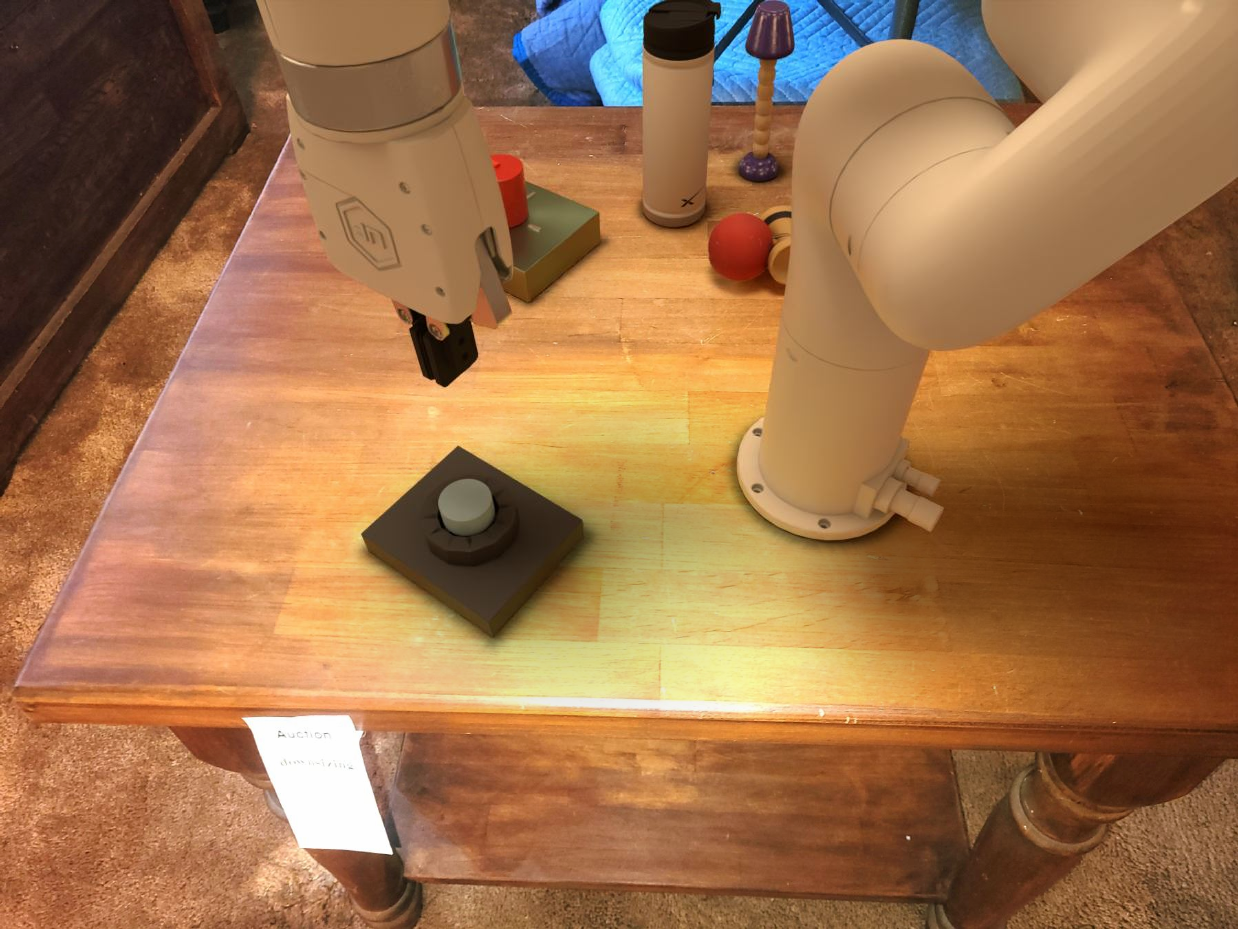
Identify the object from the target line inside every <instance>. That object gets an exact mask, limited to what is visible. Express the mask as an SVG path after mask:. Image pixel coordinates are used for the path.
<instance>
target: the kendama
mask: <svg viewBox="0 0 1238 929" xmlns="http://www.w3.org/2000/svg"><path fill="white" fill-rule="evenodd" d="M791 225H792V205H785V204H782V205H776V206H772V207H770V208H769V209H767V210H766V211H764V212H763V213H762V214H761V215H760V216H759V217H758V216H756V215H754V214H751V213H747V212H738V213H732V214H730V215H727V216H726V217H724V218H722V219H721V220H720V221H719V222H718V223H716V224H715V226H714V227H713V228H712V231H711V232H710V236H709V238H708V242H707V243H708V245H707V252H708V261H709V264H710V265H711V267H712V269H713V270H714V271H715V272H717V273H718V274H719V275H720V276H721V277H723V278H724V279H726V280H730V281H733V282H745V281H750V280H752V279H755V278H758V276H760V275H761V274H762V273H764V272H766V271H768V272H769V273H770V276H771V277H772V278H773V280H774V281H776V282H777V283H778V284H780V285H784V286H786V281H787V274H788V267H789V258H790V246H791Z"/></svg>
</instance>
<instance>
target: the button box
mask: <svg viewBox="0 0 1238 929" xmlns="http://www.w3.org/2000/svg"><path fill="white" fill-rule="evenodd" d="M462 479H474V480H478V481H480V482H482V483H484V484H485V485H486V486H487V487H488V488H489V489H490V491H491V495H492V499H493V504H494V508H495V516H494V519H493V521H492V523H491V524H490V526H489V527H488V528H487V529H485V530H484V531H482V532H480V533H478V534H475V535H471V536H460V535H456V534H454V533H452V532H450V531H449V530H448V529H447V528H446V527H445V525H444V523H443V519H442V516H441V513H440V509H439V505H438V501H439V497H440V495H441V493H442V491H443V490H444V489H445V488H446V487H447V486H448V485H450V484H451V483H453V482H455V481H458V480H462ZM360 536H361V537H362V540H363V542H364V544H365V547H366V549H367V552H369V553H370V554H372V555H374V556H375V557H376V558H377V559H379V560H381V561H382V563H383V562H384V563H385V564H386V565H388V566H389V567H390V568H392V569H394V570H395V571H396V572H398V573H399V574H401V576H403V577H405V578H406V579H408V580H409V581H410V582H412V583H413V584H415V586H418V587H419V588H421V589H422V590H423V591H425V592H426V593H427V594H429V595H431V596H432V597H433V598H435V599H436V600H438V601H439V602H441V603H442V604H443V605H445V606H446V607H448V608H449V609H451V610H452V611H453V612H455V613H456V614H458V615H459V616H461V617H462V618H464V619H465V620H467V621H468V622H469V623H471V624H472V625H473V626H475V627H476V628H478V629H479V630H481V631H483V632H484V633H485V634H487V635H488V636H489V637H491V638H492V639H493V638H495V636H496V635H497V634H498V633H499V632H500V631H501V630H502V629H503V627H504V626H505V625H506V624H507V623H508V622H509V621H510V620H511V619H512V618H513V616H514V615H515V614H517V612H518V611H519V610H520V609H521V608H522V607H523V605H524V604H525V603H526V602H528V600H529V599H530V598H531V597H532V596H533V595H534V593H535V592H536V591H537V590H538V589H539V588H540V587H541V586H542V585H543V584H544V582H545V581H546V580H547V579H548V578H549V577H550V576H551V575H552V574H553V572H554V571H555V570H556V569H557V568H558V567H559V566H560V565H561V564H562V563H563V561H564V560H565V559H567V557H568V556H569V555H570V554H571V553H572V552H573V550H575V548H576V547H577V546H579V544H580V543H581V542H582V540H583V539H584V538H585V528H584V520H583V519H582V518H580V517H578V516H577V515H576V514H574V513H572V512H570V511H569V510H567V509H565V508H564V507H562V506H560V505H559V504H557V503H555V502H554V501H552V500H550V499H548V498H547V497H545V496H544V495H542V494H540V493H539V492H537V491H535V490H533V489H532V488H530V487H529V486H527V485H525V484H524V483H522V482H521V481H518V480H517V479H515V478H513V477H512V476H510V475H509V474H507V473H505V472H503V471H501V470H500V469H498V468H497V467H495V466H493V465H492V464H490V463H488V462H487V461H485V460H483V458H480V457H478V456H476V455H475V454H474V453H471V452H470V451H468V450H466V449H465V448H463V447H462V446H460V445H457V446H456V447H455V448H453V449H452V450H451V451H450V452H449V453H448V454H447V455H446V456H444V458H442V459H441V460H440V461H439V462H438V463H437V464H436V465H435V466H433V467H432V469H430V470H429V471H428V472H427V473H426V474H425V475H424V476H423V477H422V478H420V479H419V480H418V481H417V482H416V483H415V484H414V485H413V486H411V488H409V489H408V490H407V491H406V492H405V493H404V494H403V495H402V496H400V497H399V499H397V500H396V501H395V502H394V503H393V504H392V505H391V506H389V507H388V509H386V510H385V511H384V512H383V513H382V514H381V515H380V516H379V517H377V518H376V519H375V520H374V521H373V522H372V523H371V524H370V525H369V526H368V527H366V528H365V529H364V530H363V531H361V533H360Z"/></svg>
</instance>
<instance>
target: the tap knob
mask: <svg viewBox="0 0 1238 929" xmlns="http://www.w3.org/2000/svg"><path fill="white" fill-rule="evenodd" d="M490 156H491V160H492V163H493V166H494V170H495V173H496V177H497V180H498V184H499V188H500V192H501V196H502V200H503V204H504V209H505V213H506V218H507V223H508V228H511V227H515V226H517V225H519V224H521V223H523V222H524V221H525V220H526V219H527V217H528V214H529V211H528V202H527V194H526V185H525V181H526V177H525V169H524V163H523V162H522V160H521V159H520V158H518V157H516V156H514V155H512V154H505V153H500V154H492V155H491V154H490Z"/></svg>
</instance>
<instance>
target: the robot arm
mask: <svg viewBox="0 0 1238 929" xmlns="http://www.w3.org/2000/svg"><path fill="white" fill-rule="evenodd" d="M255 1H256V2H255V3H256V4H257V7H258V10H259V13H260V15H261V16H260V17H261V18H262V22H263V24H264V27H265V30H266V33H267V36H268V38H269V41H270V45H271V48H272V51H273V54H274V56H275V60H276V62H277V66H278V68H279V70H280V74H281V77H282V80H283V83H284V86H285V88H286V91H287V93H286V96H285V102H286V111H287V112H286V113H287V120H288V125H289V133H290V138H291V143H292V148H293V152H294V156H295V161H296V164H297V169H298V173H299V176H300V181H301V184H302V188H303V191H304V195H305V197H306V200H307V204H308V207H309V210H310V214H311V217H312V220H313V223H314V226H315V229H316V232H317V235H318V238H319V241H320V244H321V246H322V249H323V251H324V254H325V257H326V258H327V260H328V262H329V264H331V266H333V267H334V269H335V270H337V271H338V272H339V273H341V274H342V275H343V276H346V277H347V278H349V279H351V280H353V281H355V282H356V283H359V284H361V285H362V286H364V287H366V288H368V289H370V290H372V291H374V292H376V293H378V294H380V295H382V296H383V297H386V298H388V299H390V300H391V302H392V305H393V307H394V310H395V312H396V315H397V316H398V317H399V319H400V320H401V321H402V322H403V323H404V324H406V325H410V326H411V327H409V328H408V332H409V335H410V339H411V342H412V345H413V348H414V351H415V355H416V357H417V361H418V365H419V368H420V371H421V374H422V377H424V378H425V379H427V380H429V381H435V383H436V384H437V385H438V386H440V387H442V388H448V387H449V386H450V385H451V384H453V382H454V381H456V380H457V379H458V378H459V377H460V376H461V375H462V374H463V373H465V372H466V371H467V370H469V369H470V368H471V367H472V366H473V365H474V363H476V362H477V360H478V358H479V350H478V346H477V341H476V336H475V333H474V328H473V325H475V326H480V327H483V328H488V329H491V330H496V329H498V328H499V327H500V326H501V325H503V323H505V321H507V320H508V319H509V318H510V317H511V316H512V315H513V310H512V307H511V305H510V301H509V299H508V296H507V294H506V291H504V289H503V286H502V283H501V282H509V281H510V280H511V279H512V277H513V254H512V245H511V239H510V233H509V228H508V223H507V218H506V213H505V209H504V204H503V200H502V196H501V192H500V188H499V184H498V180H497V177H496V173H495V170H494V166H493V163H492V160H491V152H490V150H489V147H488V144H487V141H486V138H485V135H484V132H483V129H482V126H481V123H480V121H479V118H478V115H477V113H476V110H475V108H474V105H473V102H472V100H471V99H470V98H469V97H468V96H466V95H465V85H464V80H463V75H462V69H461V64H460V63H461V62H460V58H459V57H460V56H459V53H458V48H457V41H456V35H455V32H454V31H455V30H454V25H453V19H452V15H451V8H450V3H449V0H255ZM980 6H981V9H980V10H981V16H982V21H983V24H984V27H985V31H986V33H987V36H988V38H989V39H990V41H991V42H992V44H993V46H994V48H995V49H996V51H997V53H998V55H999V56H1000V57H1001V58H1002V59H1003V61H1004V62H1005V63H1006V64H1007V66H1008V67H1009V68H1010V69H1011V70H1012V72H1013V73H1014V74H1015V75H1016V77H1018V79H1020V81H1021V82H1022V83H1023V84H1024V85H1025V86H1026V88H1028V89H1029V91H1030V92H1031V93H1032V94H1033V95H1034V96H1035V97H1036V99H1037V100H1038V101H1040V103H1041V104H1042V105H1041V106H1040V107H1039V108H1037V109H1036V110H1035V111H1034V112H1033V113H1032V114H1031V115H1029V117H1027V118H1026V119H1025V120H1024V121H1023V122H1022V123H1021V124H1020V125H1018V126H1017V127H1016V125H1015V124H1014V121H1013V120H1012V119H1011V117H1010V116H1009V115H1008V114H1007V113H1006V111H1005V110H1004V109H1003V108H1002V107H1001V106H1000V105H999V104H998V103H997V101H996V100H995V99H994V97H993V96H992V95H991V93H989V91H987V89H986V88H985V87H984V86H983V84H982V83H981V82H980V81H979V80H978V79H977V78H976V77H975V76H974V74H972V73H971V72H970V71H969V70H968V68H966V67H965V66H964V65H963V64H962V63H961V62H959V61H958V60H957V59H956V58H954V57H952V56H951V55H949V54H948V53H947V52H945V51H943V50H942V49H940V48H938V47H937V46H934V45H931V44H929V43H926V42H923V41H919V40H913V39H905V38H904V39H903V38H898V39H896V38H895V39H886V40H880V41H876V42H873V43H869V44H867V45H864V46H862V47H860V48H858V49H856V50H854V51H853V52H851V53H849V54H847V55H846V56H845V57H843V58H842V59H840V60H839V61H838V62H837V63H835V65H834V66H832V67H831V68H830V70H829V71H828V72H826V73H825V75H824V76H823V77H822V78H821V80H820V81H819V82H818V84H817V85H816V87H815V88H814V89H813V91H812V93H811V95H810V96H809V99H808V100H807V102H806V105H805V107H804V109H803V111H802V114H801V117H800V119H799V123H798V126H797V130H796V135H795V139H794V145H793V155H792V162H791V163H792V164H791V165H792V166H791V167H792V168H791V207H792V225H791V246H790V258H789V267H788V274H787V281H786V285H785V288H784V289H785V290H784V296H783V302H782V307H781V312H780V317H779V323H778V324H779V325H778V330H777V336H776V341H775V349H774V355H773V361H772V368H771V374H770V380H769V387H768V391H767V392H768V393H767V399H766V404H765V410H764V416H762V417H760V418H759V419H757V420H756V422H755V423H753V424H752V425H751V426H750V427H749V429H748V430H747V431H746V433H745V434H744V435H743V437H742V440H741V442H740V444H739V446H738V453H737V457H736V475H737V480H738V485H739V486H740V489H741V491H742V493H743V495H744V498H746V500H747V501H748V502H749V504H750V505H751V506H752V508H753V509H754V510H755V511H756V512H757V513H758V514H759V515H761V516H762V517H763V518H764V519H766V521H768V522H770V523H772V524H773V525H774V526H776V527H778V528H780V529H782V530H785V531H787V532H789V533H790V534H793V535H796V536H801V537H804V538H807V539H813V540H821V541H844V540H850V539H853V538H859V537H862V536H864V535H867V534H870V533H871V532H874V531H876V530H878V529H879V528H881V527H882V526H883V525H885V524H886V523H887V522H888V521H889V520H890V519H892V517H893V516H894V515H896V514H897V515H900V516H902V518H905V519H907V521H908V522H910V523H912V524H914V525H916V526H918V527H920V528H922V529H924V530H926V531H928V532H930V533H931V532H933V530H934V528H935V527H936V525H937V523H938V522H939V520H940V518H941V516H942V514H943V512H944V510H945V507H944V506H942V505H940V504H937V503H935V502H933V501H932V500H929V499H927V498H925V497H923V496H921V495H919V496H918V495H917V494H914V493H912V492H910V491H908V490H907V486H910V487H912V488H914V489H915V490H916V491H918V492H920V493H922V494H925V495H927V496H929V497H931V498H932V497H933V496H934V494H935V493H936V491H937V489H938V488H939V485H940V483H941V481H942V480H941V479H939V478H938V477H935V476H933V475H931V474H929V473H927V472H925V471H924V472H923V471H921V470H919V469H916V468H914V467H912V466H911V465H912V462H911V461H909V460H908V459H906V456H907V453H908V450H909V447H910V445H911V441H910V440H909V439H907V438H905V437H903V436H902V435H903V433H904V430H905V427H906V425H907V424H906V423H907V421H908V419H909V415H910V413H911V410H912V409H911V408H912V406H913V403H914V402H915V398H916V395H917V392H918V389H919V387H920V383H921V380H922V378H923V375H924V372H925V370H926V366H927V364H928V360H929V358H930V354H931V352H932V351H934V352H951V351H952V352H955V351H961V350H966V349H970V348H974V347H978V346H981V345H983V344H986V343H988V342H991V341H994V340H996V339H998V338H1001V337H1003V336H1004V335H1006V334H1009V333H1010V332H1012V331H1014V330H1016V329H1019V328H1020V327H1022V326H1023V325H1025V324H1027V323H1028V322H1030V321H1032V320H1033V319H1034V318H1035V319H1036V317H1038V316H1039V315H1041V314H1042V313H1044V312H1046V311H1047V310H1049V309H1050V308H1051V307H1053V306H1054V305H1056V304H1058V303H1059V302H1061V301H1062V300H1063V299H1065V298H1066V297H1068V296H1069V295H1072V293H1073V292H1075V291H1076V290H1078V289H1080V288H1081V287H1082V286H1084V285H1086V284H1087V283H1088V282H1090V281H1091V280H1092V279H1094V278H1095V277H1097V276H1098V275H1101V274H1102V273H1103V272H1104V271H1106V270H1107V269H1108V268H1110V267H1111V266H1113V265H1114V264H1116V263H1117V262H1118V261H1120V260H1121V259H1123V258H1124V257H1126V256H1127V255H1128V254H1130V253H1132V252H1133V251H1135V250H1136V249H1137V248H1139V247H1140V246H1142V245H1143V244H1145V243H1146V242H1147V241H1149V240H1150V239H1152V238H1154V237H1155V236H1156V235H1158V234H1159V233H1161V232H1162V231H1163V230H1165V229H1166V228H1168V227H1169V226H1171V225H1172V224H1174V223H1175V222H1177V221H1178V220H1179V219H1181V218H1183V216H1185V215H1186V214H1188V213H1190V212H1191V211H1193V210H1194V209H1195V208H1196V207H1198V206H1200V205H1201V204H1202V203H1204V202H1205V201H1207V200H1208V199H1210V198H1211V197H1212V196H1214V195H1216V194H1217V193H1218V192H1220V191H1221V190H1222V189H1224V188H1225V187H1226V186H1228V185H1229V184H1230V183H1231V182H1233V181H1234V180H1236V179H1237V178H1238V0H981V2H980ZM472 323H473V324H472Z"/></svg>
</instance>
